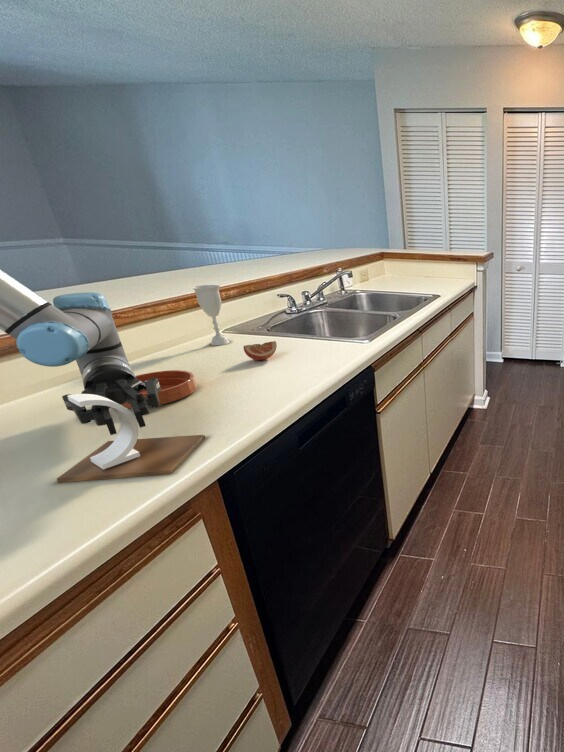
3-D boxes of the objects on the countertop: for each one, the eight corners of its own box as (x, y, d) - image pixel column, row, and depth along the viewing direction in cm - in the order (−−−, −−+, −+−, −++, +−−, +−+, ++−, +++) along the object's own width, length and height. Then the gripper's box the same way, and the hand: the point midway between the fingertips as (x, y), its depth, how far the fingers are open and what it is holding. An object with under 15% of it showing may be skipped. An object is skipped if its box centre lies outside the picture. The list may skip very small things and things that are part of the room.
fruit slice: (275, 353, 127) (272, 338, 125) (282, 359, 123) (279, 343, 121) (244, 359, 122) (240, 343, 120) (250, 365, 117) (246, 348, 116)
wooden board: (58, 482, 67) (56, 478, 67) (109, 444, 78) (108, 440, 78) (171, 473, 70) (170, 469, 69) (205, 438, 81) (204, 434, 80)
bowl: (96, 412, 90) (90, 397, 88) (140, 385, 103) (135, 371, 102) (176, 407, 92) (171, 393, 91) (208, 381, 106) (205, 368, 105)
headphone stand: (91, 461, 71) (66, 395, 66) (135, 446, 76) (115, 384, 71) (103, 469, 69) (78, 402, 64) (147, 453, 74) (127, 389, 69)
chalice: (201, 345, 134) (186, 288, 127) (218, 339, 140) (204, 284, 133) (222, 346, 133) (207, 289, 126) (238, 340, 139) (225, 285, 132)
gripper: (167, 388, 89) (192, 427, 74) (60, 411, 78) (64, 462, 63) (156, 355, 86) (180, 387, 71) (43, 374, 75) (44, 417, 60)
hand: (125, 422), depth 67 cm, fingers closed on headphone stand, 3 cm apart
